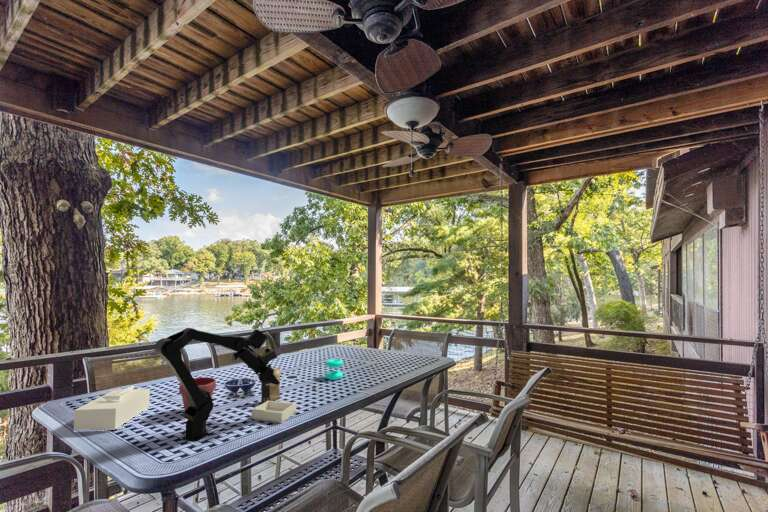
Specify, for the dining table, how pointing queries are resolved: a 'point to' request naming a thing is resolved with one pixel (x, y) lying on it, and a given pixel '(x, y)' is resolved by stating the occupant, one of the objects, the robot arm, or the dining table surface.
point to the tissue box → (112, 409)
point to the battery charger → (265, 392)
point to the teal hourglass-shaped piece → (334, 374)
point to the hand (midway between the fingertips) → (278, 382)
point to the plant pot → (202, 383)
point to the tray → (274, 411)
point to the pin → (275, 387)
